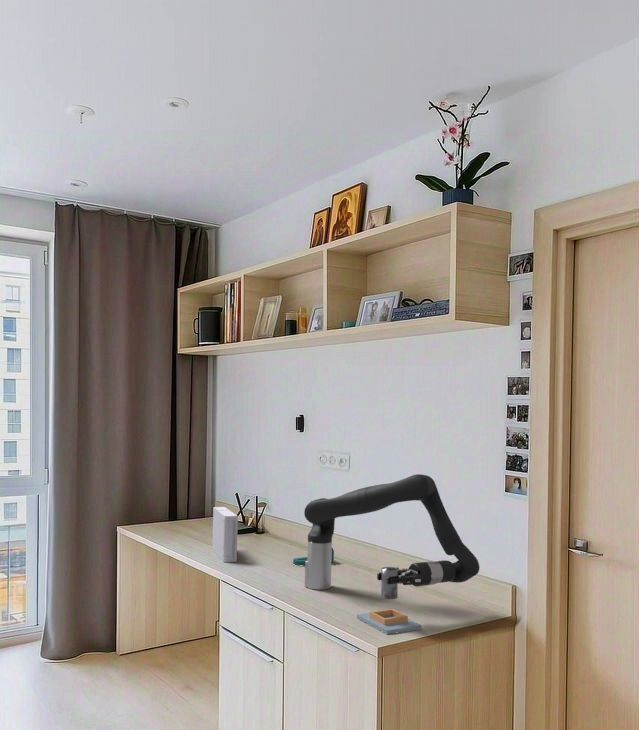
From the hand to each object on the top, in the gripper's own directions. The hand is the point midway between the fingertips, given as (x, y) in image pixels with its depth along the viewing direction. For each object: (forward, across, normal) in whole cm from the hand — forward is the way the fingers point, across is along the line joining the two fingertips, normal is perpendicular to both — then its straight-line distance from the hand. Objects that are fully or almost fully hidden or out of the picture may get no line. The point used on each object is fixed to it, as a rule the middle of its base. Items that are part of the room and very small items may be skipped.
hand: (382, 578), depth 234 cm
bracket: (-19, -86, +15) cm, 90 cm away
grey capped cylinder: (-3, 0, +6) cm, 7 cm away
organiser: (-2, 0, +14) cm, 15 cm away
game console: (+11, -114, +14) cm, 116 cm away
